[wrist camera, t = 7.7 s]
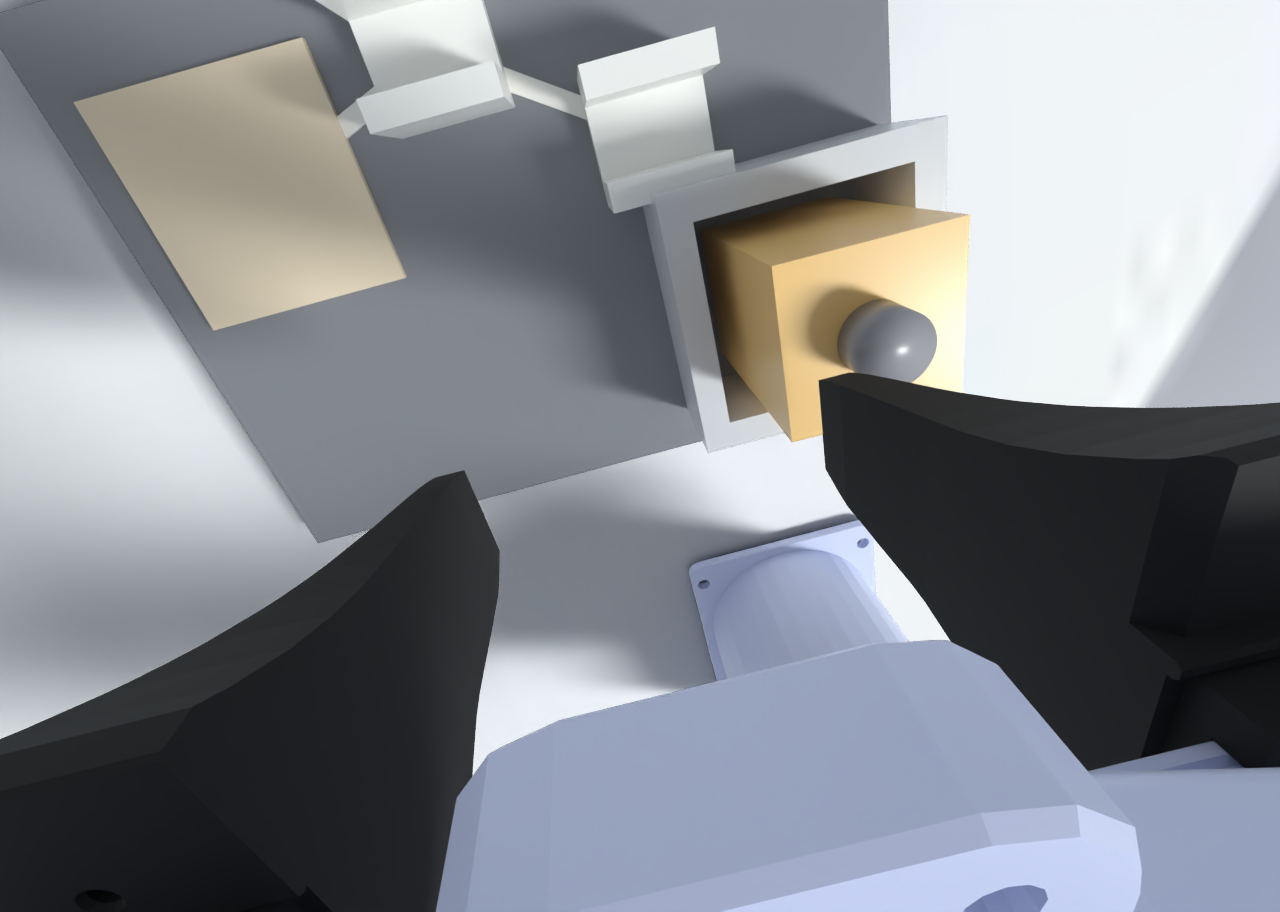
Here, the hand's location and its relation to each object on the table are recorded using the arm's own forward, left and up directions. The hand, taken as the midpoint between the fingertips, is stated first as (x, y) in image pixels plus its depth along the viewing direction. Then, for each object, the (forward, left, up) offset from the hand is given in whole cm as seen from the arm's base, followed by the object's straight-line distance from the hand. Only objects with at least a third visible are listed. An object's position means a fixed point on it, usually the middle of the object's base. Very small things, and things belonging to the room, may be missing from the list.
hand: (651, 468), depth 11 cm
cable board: (+4, +2, -9) cm, 10 cm away
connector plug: (+1, -5, -8) cm, 10 cm away
